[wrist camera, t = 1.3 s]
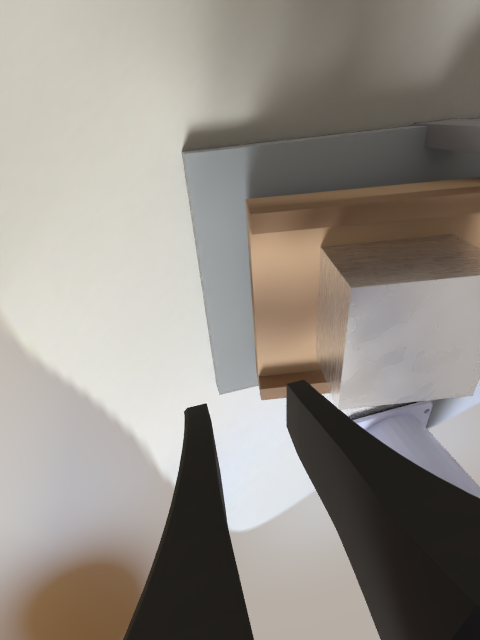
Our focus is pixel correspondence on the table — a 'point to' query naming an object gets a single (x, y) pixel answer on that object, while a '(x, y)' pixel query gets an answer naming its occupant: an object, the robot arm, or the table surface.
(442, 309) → the block
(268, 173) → the pivot stand
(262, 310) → the beam
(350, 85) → the table surface
